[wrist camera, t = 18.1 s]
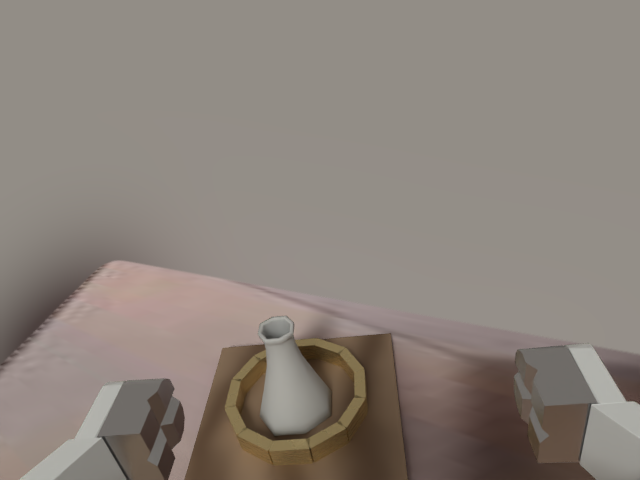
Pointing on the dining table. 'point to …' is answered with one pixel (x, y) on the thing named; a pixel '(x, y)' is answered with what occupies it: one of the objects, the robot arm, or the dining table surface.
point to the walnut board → (338, 467)
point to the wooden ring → (318, 443)
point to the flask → (290, 383)
